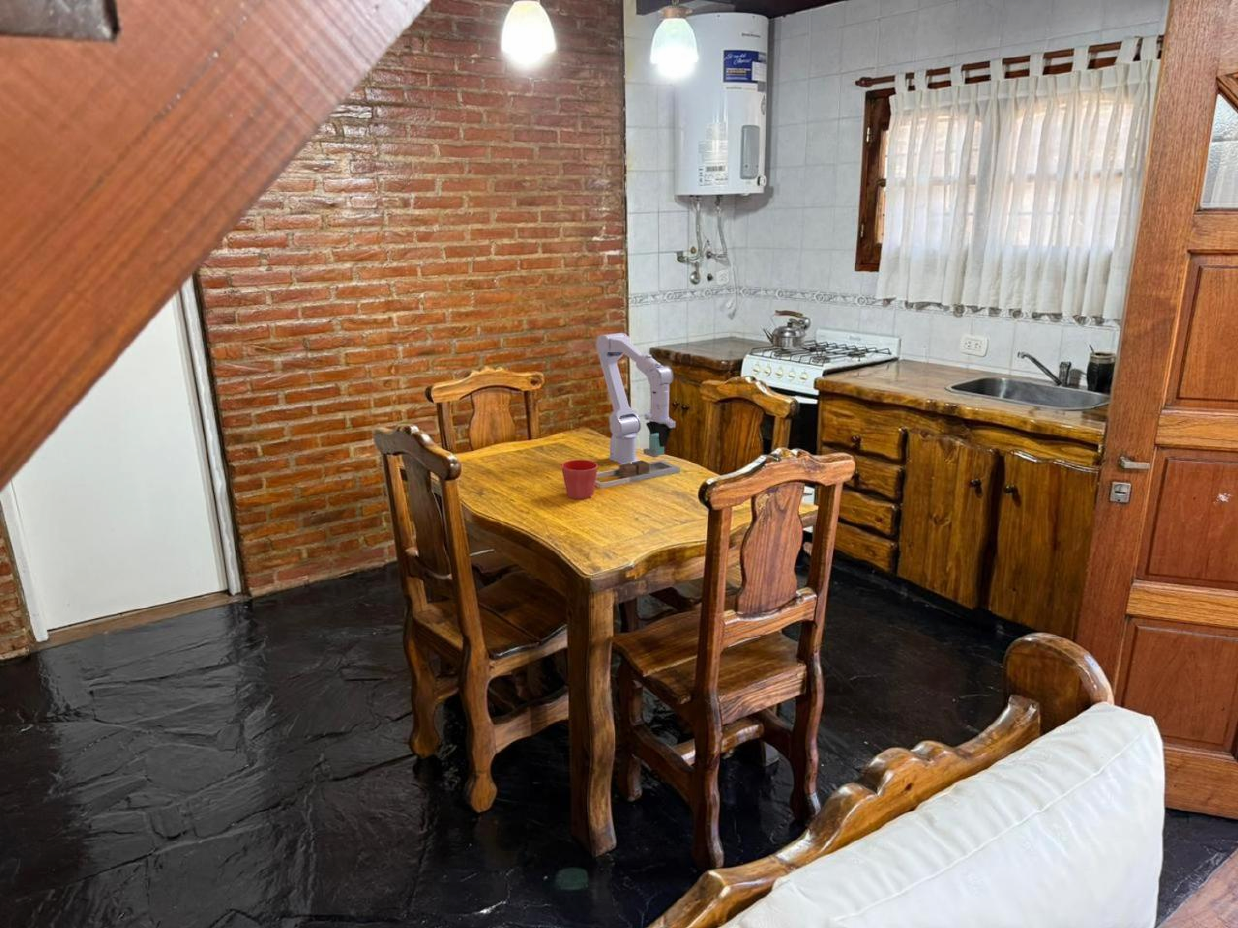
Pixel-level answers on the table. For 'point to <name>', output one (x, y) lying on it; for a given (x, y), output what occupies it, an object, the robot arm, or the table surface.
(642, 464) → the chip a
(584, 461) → the flower pot
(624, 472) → the brown boxy piece
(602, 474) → the tray
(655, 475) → the slot block
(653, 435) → the teal block
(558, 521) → the table surface
